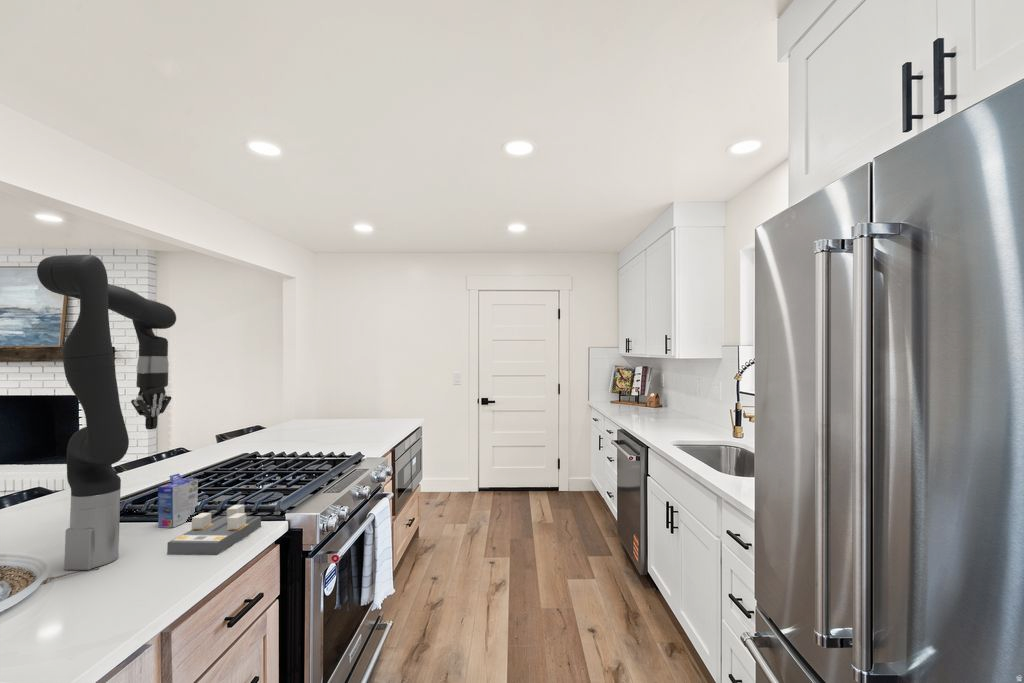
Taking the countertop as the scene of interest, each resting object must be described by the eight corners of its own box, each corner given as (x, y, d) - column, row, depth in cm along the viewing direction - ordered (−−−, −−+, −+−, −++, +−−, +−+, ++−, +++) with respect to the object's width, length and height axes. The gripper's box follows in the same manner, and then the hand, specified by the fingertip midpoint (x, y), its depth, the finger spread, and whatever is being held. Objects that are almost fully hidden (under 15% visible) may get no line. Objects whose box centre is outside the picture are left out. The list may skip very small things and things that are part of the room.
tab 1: (201, 528, 128) (201, 517, 128) (191, 528, 128) (191, 517, 128) (211, 523, 132) (211, 512, 132) (201, 523, 132) (201, 512, 132)
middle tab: (236, 519, 135) (236, 509, 136) (226, 519, 135) (226, 509, 136) (244, 514, 139) (244, 504, 140) (235, 514, 139) (235, 504, 140)
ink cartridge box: (182, 516, 148) (183, 470, 148) (198, 517, 147) (199, 471, 148) (155, 527, 138) (157, 478, 139) (172, 528, 138) (174, 479, 138)
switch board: (218, 554, 119) (218, 542, 119) (166, 554, 119) (166, 542, 120) (261, 526, 139) (262, 516, 139) (217, 526, 139) (217, 515, 140)
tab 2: (237, 529, 128) (237, 518, 128) (227, 529, 128) (227, 517, 128) (245, 523, 132) (246, 513, 132) (236, 523, 132) (236, 513, 132)
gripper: (157, 370, 147) (156, 425, 147) (122, 372, 134) (120, 432, 133) (181, 370, 147) (179, 426, 146) (147, 372, 134) (145, 432, 133)
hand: (151, 429), depth 140 cm, fingers closed
